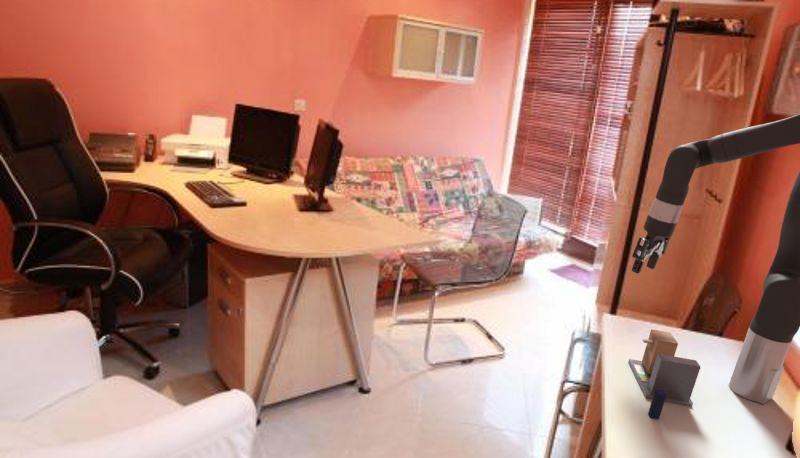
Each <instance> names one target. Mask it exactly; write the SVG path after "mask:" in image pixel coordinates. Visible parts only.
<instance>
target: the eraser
mask: <svg viewBox="0 0 800 458" xmlns="http://www.w3.org/2000/svg"><path fill="white" fill-rule="evenodd" d="M665 399H666V393H665V392H664V390H659V389H655V392H654V396H653V399H651V402H650V404H649V405H650V406H649V409H648V416H649V418H650V419H654V420H660V417H661V415H662V411H663V408H664V405H665Z"/></svg>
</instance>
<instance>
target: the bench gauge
mask: <svg viewBox="0 0 800 458" xmlns="http://www.w3.org/2000/svg"><path fill="white" fill-rule="evenodd" d="M627 362H628V365H629V367H630V369H631V371H632V373H633V375H634V378H635V379H636V381H637V383H638V386H639V388H640V391H641V392H642V394H643V396H644V398H645V399H649V400H652V399H653V396H654V392H655V389H659V390H664V392H665V393H666V399H665V402H666V403H669V404H674V405H681V406H687V407H693V404H694V402H693V401H692V399H691V397H692V394H693V391H694V389H695V385H696V382H697V379H698V376H699V373H700V370H701V365H700V364H699V362H698V361H697V360H695V359H690V358H686V357H685V358H684V357H680V356H675V355H674V356H669V355H663V354H657V358H656V361H655V364H654V367H653V371H652V374H648V373H647V371H646V369H645V367H644V365H643V363H642V360H636V359H632V358H629V359H628V361H627ZM665 402H664V403H665Z"/></svg>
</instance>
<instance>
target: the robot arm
mask: <svg viewBox="0 0 800 458" xmlns="http://www.w3.org/2000/svg"><path fill="white" fill-rule="evenodd" d="M798 144H800V113H799V114H796V115H793V116H790V117H789V116H788V117H785V118H783V119H780V120H776V121H771V122H767V123H763V124H757V125H753V126H749V127H743V128H740V129H736V130H732V131H728V132H724V133H721V134H718V135H715V136H713V137H711V138H707V139H700V140H697V141H692V142H688V143H684V144H681V145H679V146H676V147H674V148H673V149H672V150H671V151H670V152H669V154H668V157H667V159H666V162H665V166H664V170H663V174H662V180H661V182H660V184H659V186H658V189H657V191H656V195H655V198H654V199H653V201H652V203H651V205H650V208H649V210H648V212H647V213H648V214H647V215H646V218H645V222H644V224H643V230H644V231H646V232H647V234H646V235H645V237H642V236H640V237H639V238H638V240H637V242H636V245H635V248H634V251H633V253H632V256H631V257H632V258H634V262H633V265H632V267H631V271H632V272H633V273H635V274H638V275H639V274H640V273H641V271H642V269H643V266H644V263H645V261H646V260H647V258H648V257H649V258H648V261H647V263H646V268H649V269H651V270H654V269H656V266H657V263H658V261H659V258H661V257H662V255H665V253H666V252H667V248H668V245H669V243H670V241H671V238H672V237H673V235H674V233H675V230H676V227H677V224H678V222H679V219H680V216H681V214H682V211H683V210H682V209H683V206H684V203H685V200H686V198H687V196H688V194H689V193H688V192H689V190H690V186H689V184H690V182H691V180H692V176H693V174H694V171H695V170H696V169H699V168H702V167H706V166H709V165H713V164H721V163H722V164H723V163H729V162H732V161H736V160H740V159H744V158H748V157H751V156H755V155H759V154H763V153H766V152H770V151H772V150H776V149H780V148H784V147H788V146H792V145H798ZM788 196H789V197H788V200H787V204H786V207H785V211H784V213H783V220H782V223H781V228H780V232H779V233H780V234H779V240H778V246H777V250H776V253H775V255H774V258H773V260H772V262H771V265H770V268H769V270H768V272H767V274H766V276H765V278H764V280H763V283H762V296H761V299H760V301H759V304H758V307H757V310H756V312H755V314H754V316H753V317H752V319H751V322H750V324H749V327H748V329H747V332H746V335H745V338H744V341H743V344H742V346H741V350H740V351H739V355H738V357H737V361H736V363H735V366H734V368H733V371H732V375H731V377H730V381H729V383H728V386H729V389H730V390H732V392H733V393H735V394H737V395H738V396H740V397H741V398H744V399H747V400H749V401H752V402H755V403H759V404H761V405H765V404H766V403H768V402H769V401H771V400H772V399H773V398H774V395H775V392H776V390H777V387H778V385H779V383H780V380H781V377H782V375H783V373H784V371H785V366H784V365H783V364H784V363H785V360H786V357H787V354H788V352H789V349H790V347H791V344H792V341H793V339H794V337H795V335H796V334H797V333H798V331H799V330H800V171H798V175H797V176H796V179H795V181H794V184H793V186H792V189H791V191H790V194H789V195H788Z"/></svg>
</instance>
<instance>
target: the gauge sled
mask: <svg viewBox="0 0 800 458" xmlns="http://www.w3.org/2000/svg"><path fill="white" fill-rule="evenodd" d="M642 342H643V343H645V345H646V346H645V349H644V352H643V355H642V358H641V359H642V360H641V361H642V363H643V365H644V367H645V369H646V371H647V373H648V374H652V371H653V367H654V364H655V361H656V358H657V354H663V355H669V356H674V357H675V355H676V352H677V349H678V345H679V343H678V341H677V339H676V338H675V337H674V336H673V334H672V333H671V332H669V331H663V330H657V329H650V332H649V336H648V338H647V339H646V338H643V340H642Z"/></svg>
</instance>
